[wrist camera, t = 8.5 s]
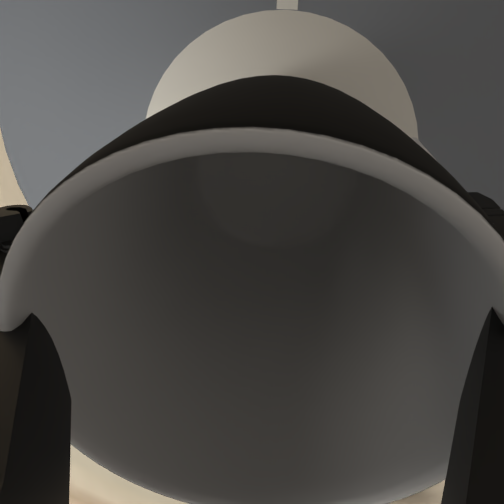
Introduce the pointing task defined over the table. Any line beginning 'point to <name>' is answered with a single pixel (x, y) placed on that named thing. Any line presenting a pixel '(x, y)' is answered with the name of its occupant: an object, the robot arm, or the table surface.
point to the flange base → (248, 71)
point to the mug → (261, 298)
